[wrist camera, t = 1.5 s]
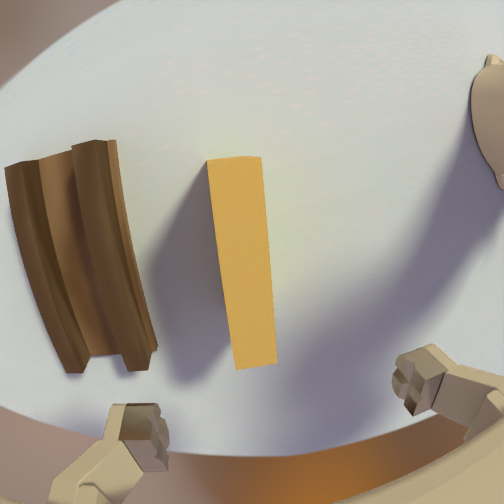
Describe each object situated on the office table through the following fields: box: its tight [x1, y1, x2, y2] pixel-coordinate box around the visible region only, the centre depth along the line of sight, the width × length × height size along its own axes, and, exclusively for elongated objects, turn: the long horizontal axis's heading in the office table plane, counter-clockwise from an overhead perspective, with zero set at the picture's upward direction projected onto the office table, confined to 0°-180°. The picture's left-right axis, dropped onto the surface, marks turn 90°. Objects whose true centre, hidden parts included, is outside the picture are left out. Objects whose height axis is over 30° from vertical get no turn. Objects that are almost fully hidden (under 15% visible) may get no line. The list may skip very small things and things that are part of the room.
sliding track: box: [4, 140, 158, 373], centre depth 24 cm, size 10×20×4 cm, turn 5°
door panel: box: [207, 156, 277, 370], centre depth 23 cm, size 3×14×9 cm, turn 5°
